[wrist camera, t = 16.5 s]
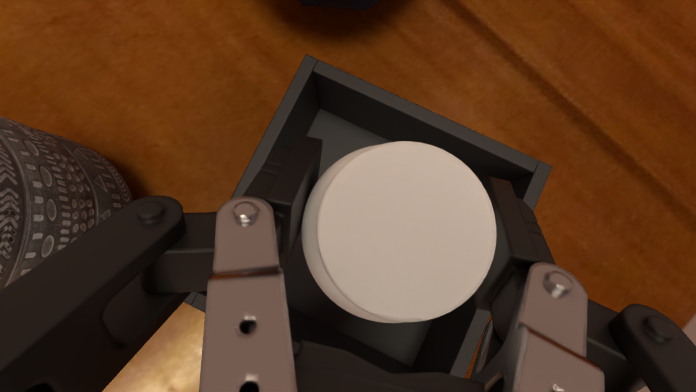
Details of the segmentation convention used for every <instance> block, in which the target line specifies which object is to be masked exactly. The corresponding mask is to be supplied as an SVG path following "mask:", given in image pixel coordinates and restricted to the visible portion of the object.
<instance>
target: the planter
mask: <svg viewBox="0 0 696 392" xmlns="http://www.w3.org/2000/svg"><path fill="white" fill-rule="evenodd" d="M132 201H134V200H133V197H132V194H131V192H130V190H129V188H128V186H127V184H126V182H125V181H124V179H123V177H122V176H121V174H120V173H119V172H118V170H117V169H116V168H115V167H114V166H113V165H112V164H111V163H110V162H109V161H108V160H107V159H106V158H105V157H103V156H102V155H100V154H99V153H98V152H96V151H94V150H92V149H90V148H88V147H86V146H84V145H81V144H79V143H76V142H74V141H71V140H68V139H66V138H63V137H60V136H57V135H54V134H51V133H47V132H44V131H41V130H37V129H34V128H31V127H29V126H26V125H23V124H20V123H18V122H15V121H12V120H10V119H7V118H4V117H1V116H0V290H2V289H3V288H5V287H6V286H8V285H9V284H11V283H12V282H14V281H15V280H17V279H18V278H19V277H21V276H22V275H24V274H25V273H27V272H28V271H30V270H31V269H33V268H34V267H36V266H37V265H39V264H40V263H42V262H43V261H45V260H46V259H48V258H49V257H50V256H52V255H53V254H55V253H56V252H58V251H59V250H61V249H62V248H64V247H65V246H67V245H68V244H70V243H71V242H73V241H74V240H76V239H77V238H79V237H80V236H81V235H83V234H84V233H86V232H87V231H89V230H90V229H92V228H93V227H95V226H96V225H98V224H99V223H101V222H102V221H104V220H105V219H107V218H108V217H110V216H111V215H112V214H114V213H115V212H117V211H118V210H120V209H121V208H123V207H124V206H126V205H127V204H129V203H131V202H132Z"/></svg>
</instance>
